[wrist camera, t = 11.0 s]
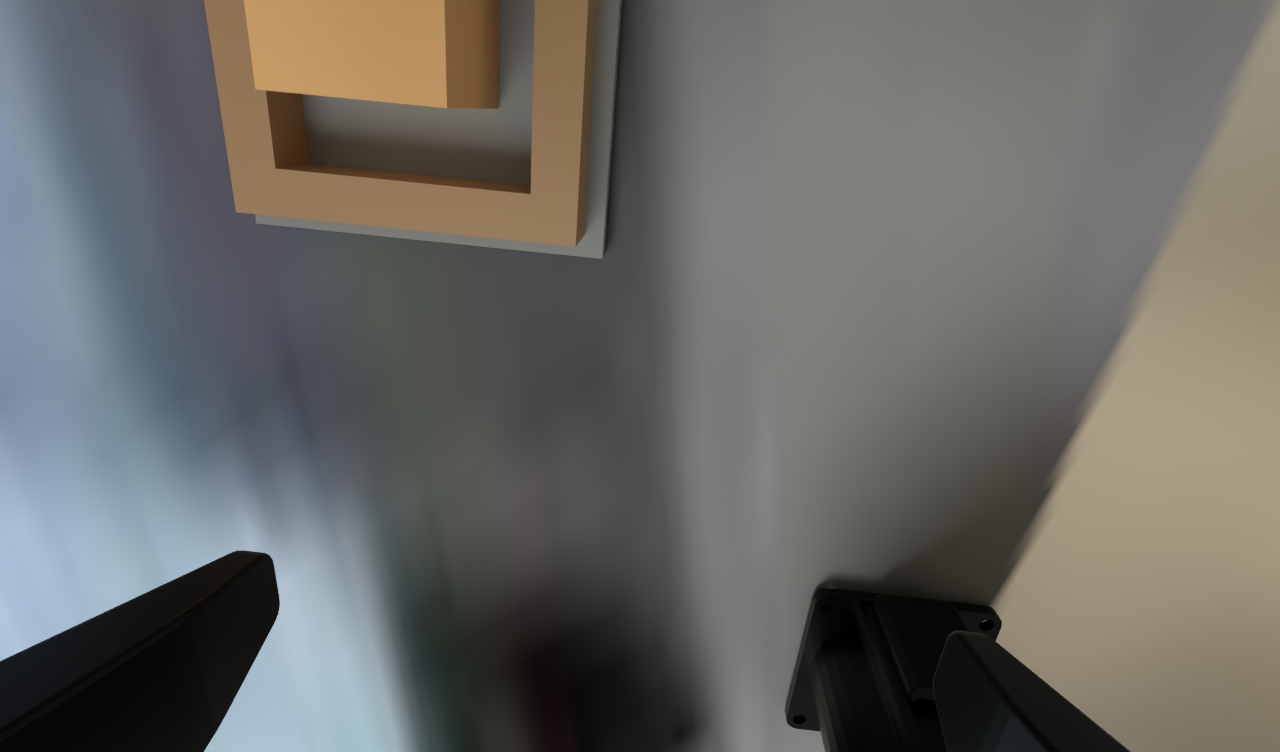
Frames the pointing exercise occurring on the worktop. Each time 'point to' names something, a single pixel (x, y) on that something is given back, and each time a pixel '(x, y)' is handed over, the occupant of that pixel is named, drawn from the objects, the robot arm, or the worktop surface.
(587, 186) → the board
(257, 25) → the ochre bar
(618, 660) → the worktop surface
